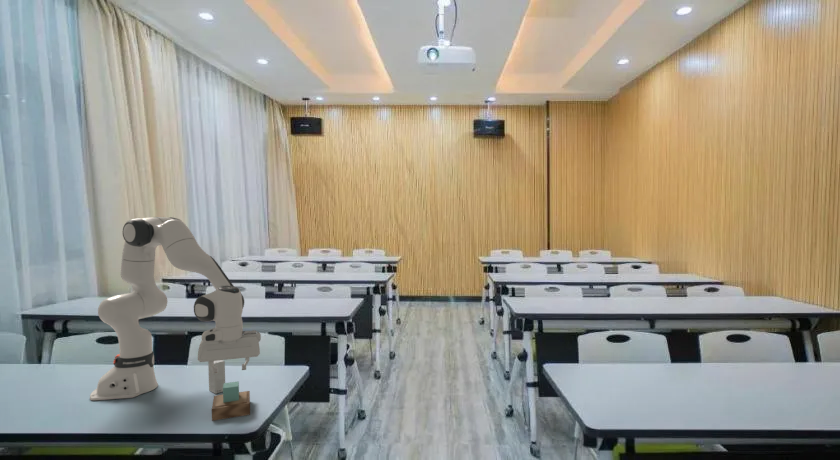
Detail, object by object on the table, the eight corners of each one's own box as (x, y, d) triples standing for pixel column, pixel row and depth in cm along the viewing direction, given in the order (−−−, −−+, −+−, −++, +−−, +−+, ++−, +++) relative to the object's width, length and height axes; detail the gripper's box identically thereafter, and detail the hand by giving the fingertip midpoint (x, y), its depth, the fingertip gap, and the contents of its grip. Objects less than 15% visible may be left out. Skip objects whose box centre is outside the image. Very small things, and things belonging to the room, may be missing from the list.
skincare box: (226, 391, 179) (225, 361, 178) (215, 394, 175) (214, 363, 175) (219, 387, 183) (218, 357, 182) (208, 390, 180) (207, 360, 179)
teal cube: (223, 402, 157) (222, 388, 157) (224, 397, 162) (223, 383, 162) (238, 400, 159) (238, 386, 159) (239, 394, 164) (238, 381, 163)
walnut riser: (212, 420, 153) (211, 408, 153) (214, 406, 164) (214, 394, 164) (250, 414, 157) (249, 402, 157) (249, 401, 168) (249, 389, 168)
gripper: (260, 327, 166) (260, 364, 167) (198, 332, 159) (199, 371, 160) (260, 332, 160) (261, 370, 161) (196, 337, 153) (197, 377, 154)
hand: (229, 371), depth 160 cm, fingers open, 8 cm apart
